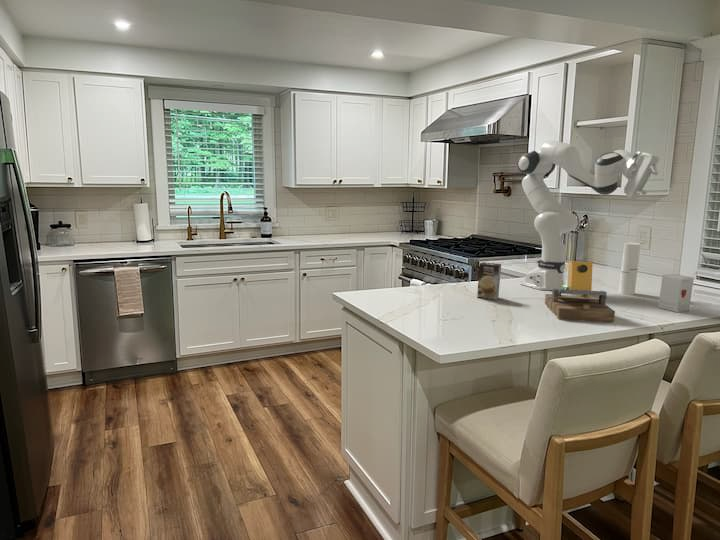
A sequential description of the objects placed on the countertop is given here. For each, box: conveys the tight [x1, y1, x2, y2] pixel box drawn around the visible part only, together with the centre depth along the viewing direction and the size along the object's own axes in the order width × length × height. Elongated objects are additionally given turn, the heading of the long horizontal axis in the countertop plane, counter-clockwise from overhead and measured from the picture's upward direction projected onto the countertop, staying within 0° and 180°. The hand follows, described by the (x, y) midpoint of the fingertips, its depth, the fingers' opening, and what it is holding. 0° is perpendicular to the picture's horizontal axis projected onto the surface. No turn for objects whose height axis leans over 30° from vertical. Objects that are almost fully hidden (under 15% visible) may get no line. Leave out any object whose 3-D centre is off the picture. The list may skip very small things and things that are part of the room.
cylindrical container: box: [618, 242, 642, 296], centre depth 263 cm, size 7×7×25 cm
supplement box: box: [657, 273, 695, 313], centre depth 233 cm, size 9×9×15 cm
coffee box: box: [476, 261, 502, 300], centre depth 246 cm, size 9×6×16 cm
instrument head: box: [558, 260, 608, 296], centre depth 223 cm, size 18×16×14 cm
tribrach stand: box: [544, 289, 616, 323], centre depth 223 cm, size 26×21×10 cm
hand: (650, 183), depth 224 cm, fingers open, 8 cm apart
